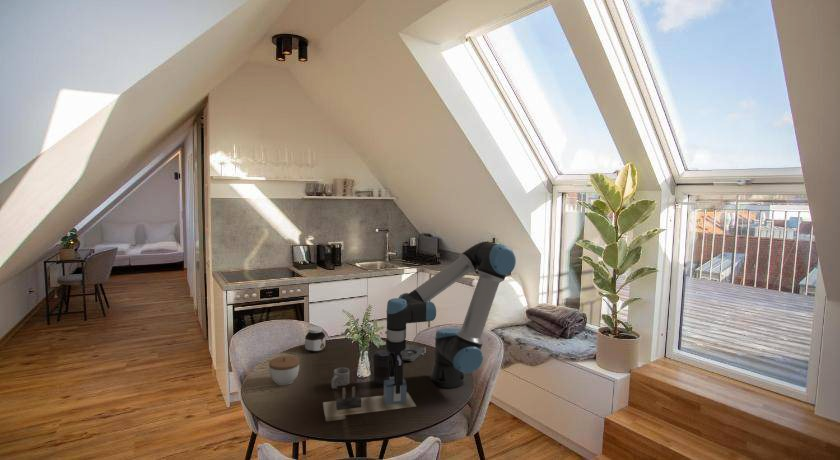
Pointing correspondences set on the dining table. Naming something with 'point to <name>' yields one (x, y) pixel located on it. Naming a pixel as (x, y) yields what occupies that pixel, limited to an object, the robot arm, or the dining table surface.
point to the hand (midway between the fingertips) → (394, 396)
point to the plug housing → (390, 391)
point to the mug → (340, 377)
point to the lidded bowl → (284, 369)
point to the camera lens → (381, 367)
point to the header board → (364, 406)
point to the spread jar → (315, 340)
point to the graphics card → (412, 352)
